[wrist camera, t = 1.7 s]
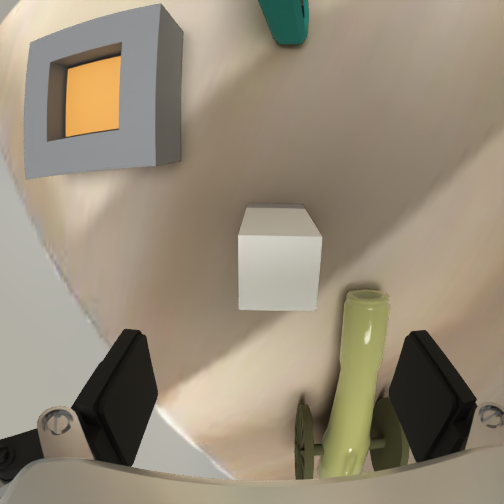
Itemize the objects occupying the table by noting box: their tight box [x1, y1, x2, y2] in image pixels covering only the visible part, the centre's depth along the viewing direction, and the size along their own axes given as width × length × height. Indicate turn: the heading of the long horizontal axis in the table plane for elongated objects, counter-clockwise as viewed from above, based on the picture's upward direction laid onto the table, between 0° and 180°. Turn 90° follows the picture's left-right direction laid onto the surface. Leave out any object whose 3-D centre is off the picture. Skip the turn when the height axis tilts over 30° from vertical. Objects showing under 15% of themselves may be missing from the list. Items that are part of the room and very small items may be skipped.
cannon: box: [295, 289, 409, 480], centre depth 27 cm, size 25×12×11 cm, turn 1°
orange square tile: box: [66, 56, 121, 137], centre depth 20 cm, size 6×6×1 cm
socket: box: [24, 4, 183, 180], centre depth 21 cm, size 12×12×6 cm
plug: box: [238, 203, 322, 311], centre depth 23 cm, size 5×5×10 cm
